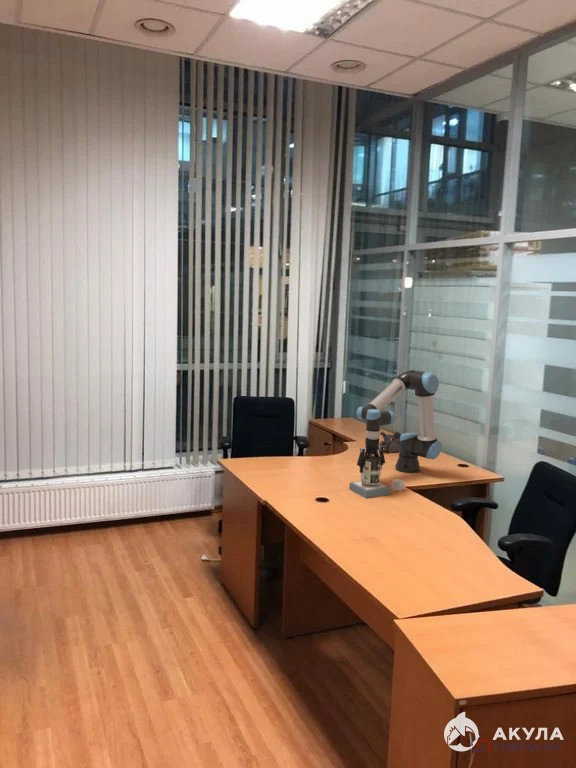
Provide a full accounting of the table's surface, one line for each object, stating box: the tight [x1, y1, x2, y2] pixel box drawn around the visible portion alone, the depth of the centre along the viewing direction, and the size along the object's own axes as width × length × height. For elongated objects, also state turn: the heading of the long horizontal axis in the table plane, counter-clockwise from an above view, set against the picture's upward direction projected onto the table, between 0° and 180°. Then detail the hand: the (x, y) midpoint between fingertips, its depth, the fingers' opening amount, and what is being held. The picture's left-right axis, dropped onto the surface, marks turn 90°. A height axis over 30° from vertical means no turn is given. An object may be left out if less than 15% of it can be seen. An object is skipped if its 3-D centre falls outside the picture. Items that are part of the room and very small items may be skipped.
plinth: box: [348, 480, 391, 499], centre depth 345 cm, size 16×16×4 cm
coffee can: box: [360, 455, 381, 485], centre depth 343 cm, size 10×10×14 cm
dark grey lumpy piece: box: [378, 431, 402, 454], centre depth 432 cm, size 14×15×20 cm
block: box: [391, 478, 405, 492], centre depth 351 cm, size 5×5×5 cm
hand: (370, 477), depth 344 cm, fingers closed on coffee can, 10 cm apart
